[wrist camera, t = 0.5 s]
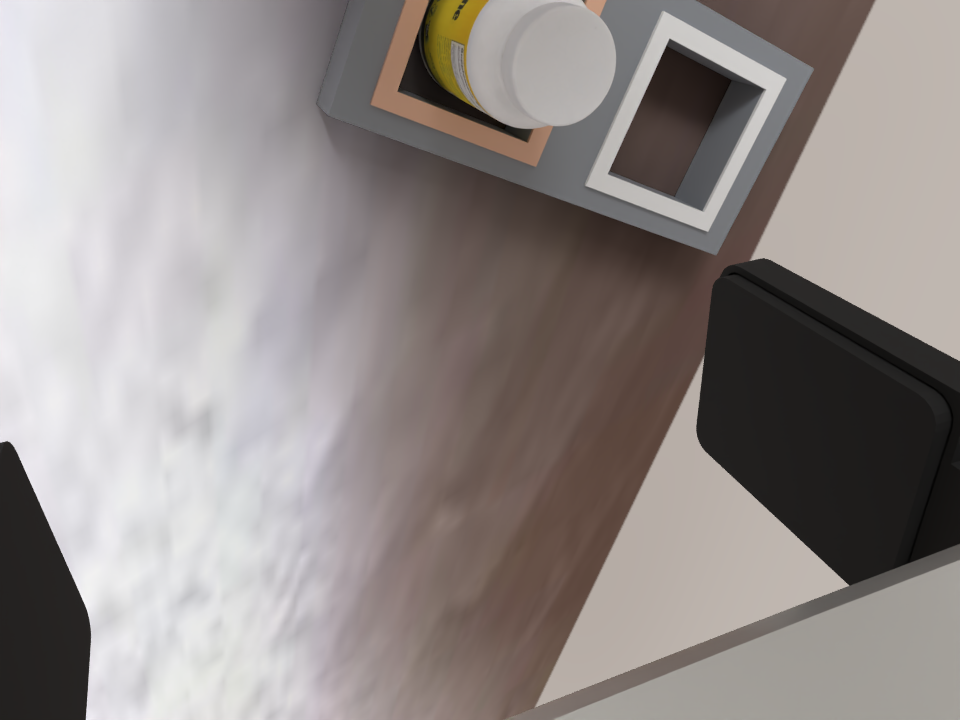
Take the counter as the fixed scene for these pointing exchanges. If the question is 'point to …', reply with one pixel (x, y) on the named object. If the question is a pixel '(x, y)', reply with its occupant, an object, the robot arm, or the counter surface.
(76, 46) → the counter surface
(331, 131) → the counter surface
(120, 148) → the counter surface
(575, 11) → the pill bottle
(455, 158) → the socket stand
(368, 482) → the counter surface
